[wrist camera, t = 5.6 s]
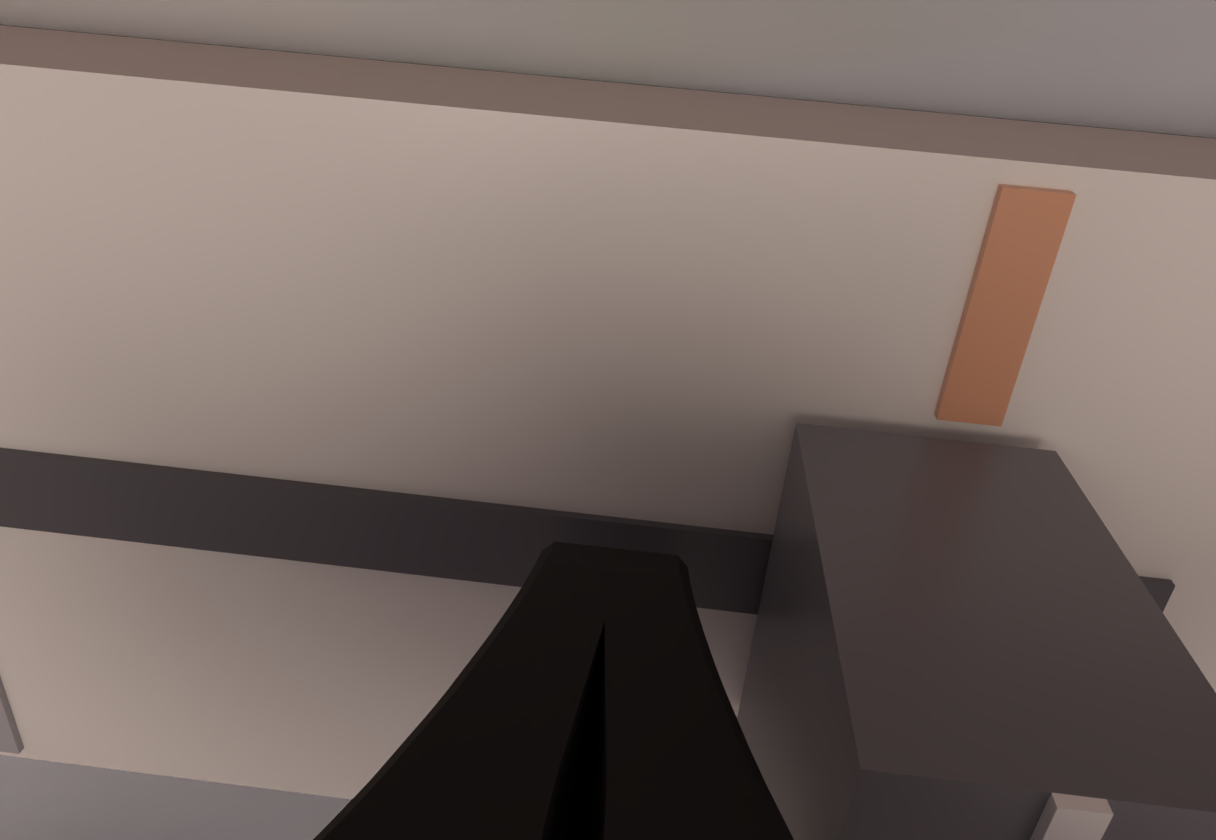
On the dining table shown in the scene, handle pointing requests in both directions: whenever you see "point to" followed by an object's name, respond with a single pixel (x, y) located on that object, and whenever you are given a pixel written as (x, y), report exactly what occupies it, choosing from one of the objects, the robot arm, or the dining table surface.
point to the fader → (966, 655)
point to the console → (517, 367)
